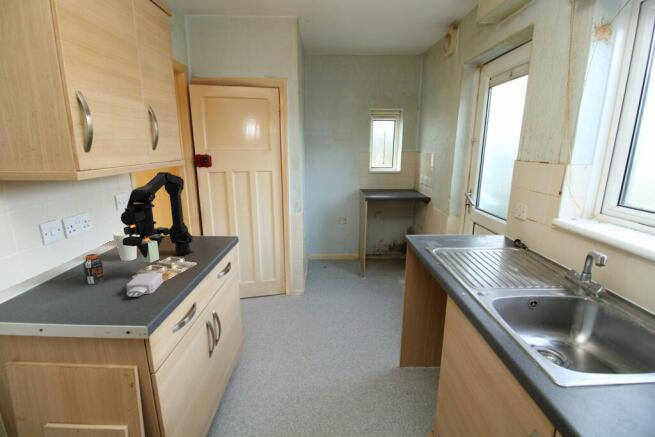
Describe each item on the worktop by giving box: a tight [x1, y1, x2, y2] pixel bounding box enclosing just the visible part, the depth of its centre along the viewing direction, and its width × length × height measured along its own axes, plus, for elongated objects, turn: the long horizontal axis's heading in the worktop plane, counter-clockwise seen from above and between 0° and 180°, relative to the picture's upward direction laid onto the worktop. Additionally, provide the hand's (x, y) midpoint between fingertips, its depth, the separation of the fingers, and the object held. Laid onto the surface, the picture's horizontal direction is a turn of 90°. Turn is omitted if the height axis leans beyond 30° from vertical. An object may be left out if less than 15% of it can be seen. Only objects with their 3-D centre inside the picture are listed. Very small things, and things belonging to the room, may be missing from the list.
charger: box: [125, 273, 164, 298], centre depth 115 cm, size 5×9×15 cm
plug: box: [140, 240, 160, 264], centre depth 128 cm, size 4×4×8 cm
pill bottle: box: [82, 253, 105, 285], centre depth 123 cm, size 6×6×11 cm
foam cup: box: [112, 230, 138, 262], centre depth 148 cm, size 10×9×13 cm
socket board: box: [131, 256, 197, 283], centre depth 135 cm, size 21×15×3 cm
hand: (150, 255), depth 129 cm, fingers closed on plug, 4 cm apart
